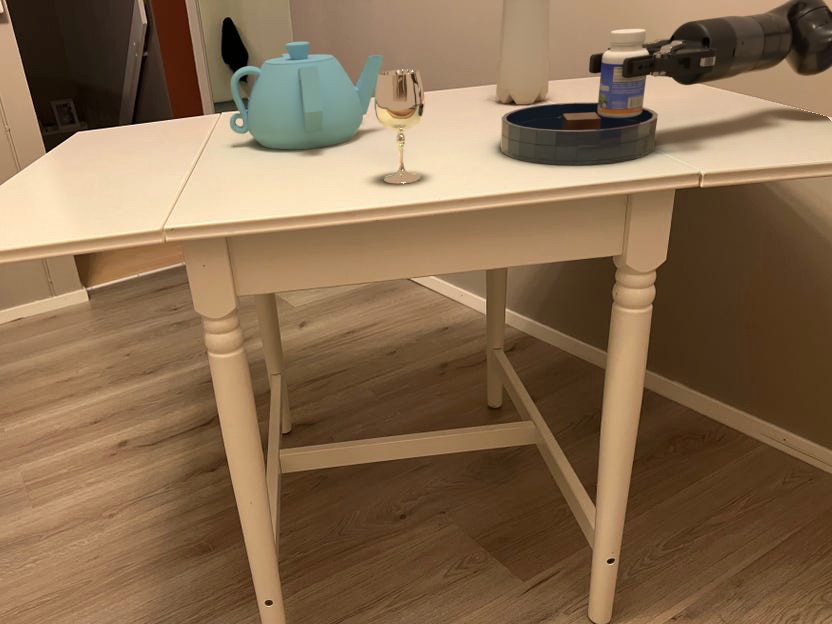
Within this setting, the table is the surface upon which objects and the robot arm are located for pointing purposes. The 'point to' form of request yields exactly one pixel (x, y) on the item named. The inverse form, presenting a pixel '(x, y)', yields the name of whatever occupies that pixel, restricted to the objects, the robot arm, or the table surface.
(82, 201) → the table surface
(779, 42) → the robot arm
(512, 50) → the bottle
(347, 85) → the teapot
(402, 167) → the wineglass
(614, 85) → the pill bottle
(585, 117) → the block
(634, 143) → the bowl
